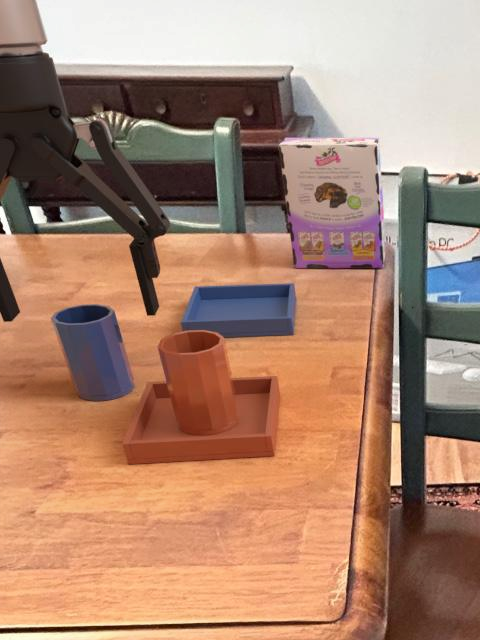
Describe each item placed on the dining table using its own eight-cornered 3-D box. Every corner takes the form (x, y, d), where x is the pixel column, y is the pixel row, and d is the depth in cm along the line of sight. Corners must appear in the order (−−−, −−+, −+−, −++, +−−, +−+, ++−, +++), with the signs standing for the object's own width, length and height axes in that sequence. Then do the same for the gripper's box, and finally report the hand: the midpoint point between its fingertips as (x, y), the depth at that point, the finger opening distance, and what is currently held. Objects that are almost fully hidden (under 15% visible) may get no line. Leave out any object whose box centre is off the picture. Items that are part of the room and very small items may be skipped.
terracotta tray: (128, 464, 67) (121, 444, 66) (152, 400, 77) (147, 381, 76) (274, 456, 69) (271, 435, 67) (280, 394, 79) (277, 375, 77)
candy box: (386, 258, 116) (381, 136, 105) (383, 269, 111) (378, 143, 100) (298, 257, 116) (284, 134, 105) (292, 268, 111) (277, 142, 100)
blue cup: (71, 402, 77) (44, 325, 71) (84, 379, 81) (60, 305, 76) (129, 399, 77) (106, 323, 72) (139, 376, 82) (118, 303, 76)
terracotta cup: (174, 437, 70) (153, 355, 65) (183, 409, 75) (163, 331, 69) (236, 433, 71) (220, 352, 66) (241, 406, 75) (226, 328, 70)
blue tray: (184, 339, 90) (180, 322, 88) (197, 302, 100) (194, 286, 98) (293, 334, 91) (291, 317, 90) (296, 298, 101) (294, 283, 100)
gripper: (-189, 55, 56) (-64, 333, 70) (149, 53, 58) (206, 321, 72) (-142, 48, 61) (-35, 306, 75) (165, 46, 64) (214, 296, 78)
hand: (83, 314), depth 74 cm, fingers open, 13 cm apart
